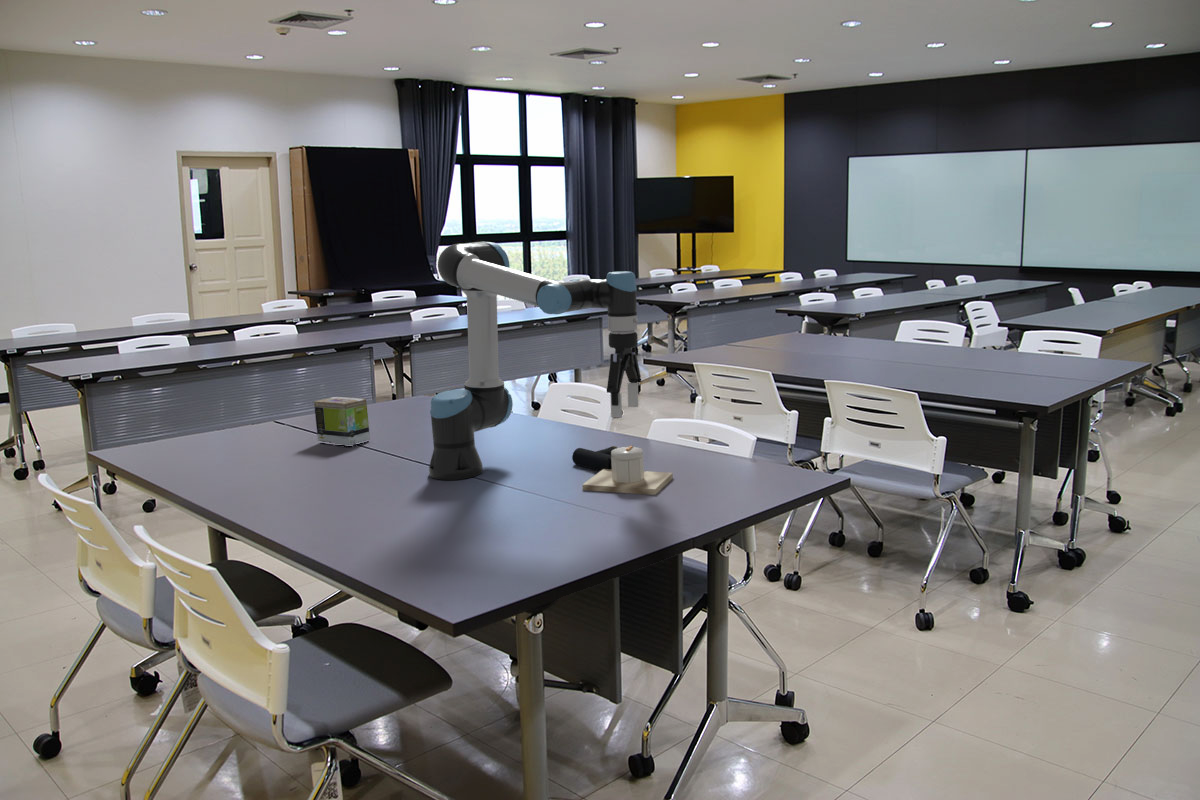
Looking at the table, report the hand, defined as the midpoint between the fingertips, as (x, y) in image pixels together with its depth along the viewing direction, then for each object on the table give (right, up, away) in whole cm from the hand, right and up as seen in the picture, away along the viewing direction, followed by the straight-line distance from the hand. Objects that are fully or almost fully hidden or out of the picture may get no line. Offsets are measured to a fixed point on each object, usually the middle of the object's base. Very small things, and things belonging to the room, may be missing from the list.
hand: (625, 412), depth 251 cm
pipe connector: (-5, -16, +23) cm, 29 cm away
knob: (+1, -18, +3) cm, 18 cm away
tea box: (-92, -11, +66) cm, 114 cm away
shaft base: (+1, -19, +4) cm, 20 cm away
